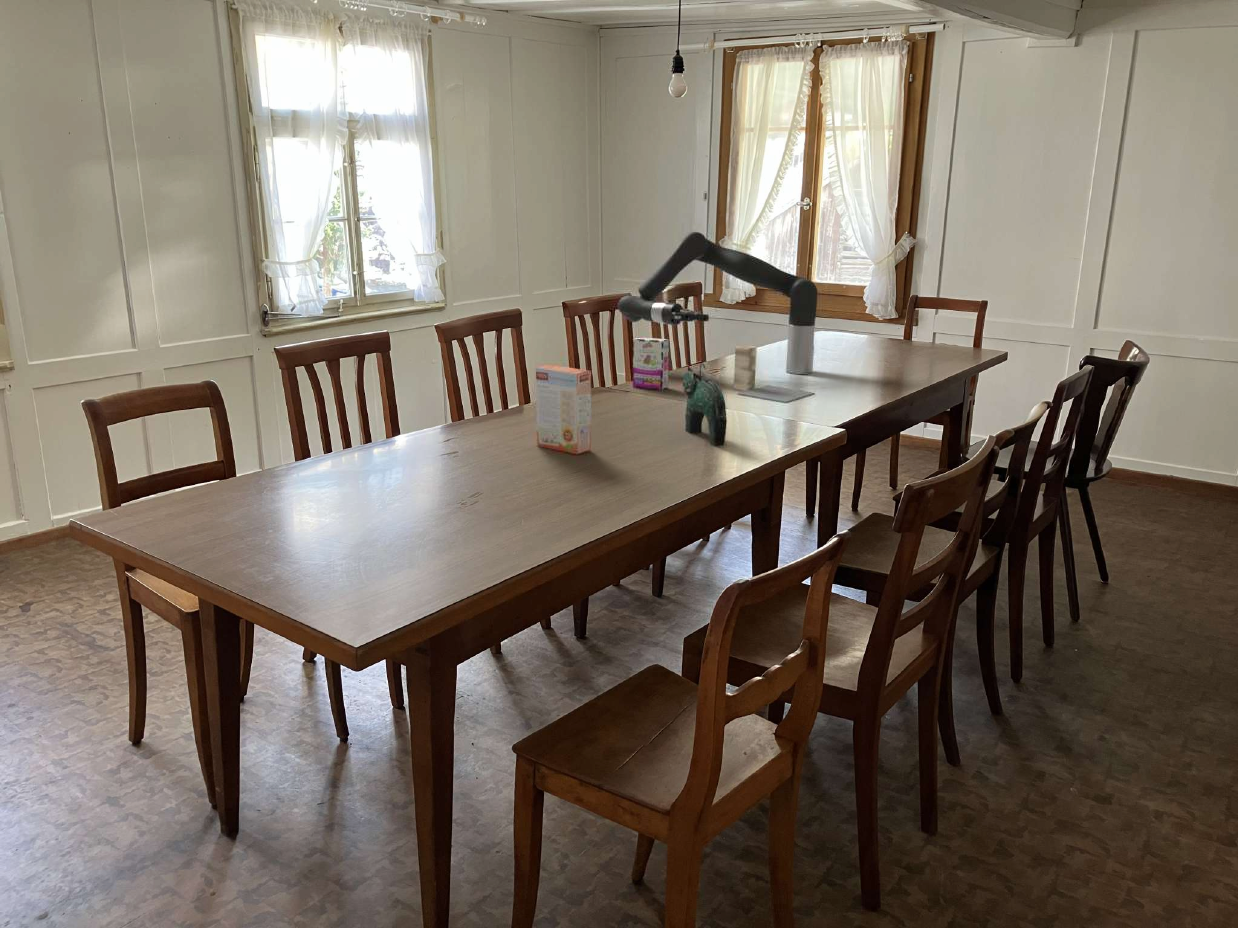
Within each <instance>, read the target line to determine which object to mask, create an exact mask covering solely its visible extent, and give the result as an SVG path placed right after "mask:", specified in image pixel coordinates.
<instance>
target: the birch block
mask: <svg viewBox="0 0 1238 928" xmlns="http://www.w3.org/2000/svg"><path fill="white" fill-rule="evenodd" d="M757 347H758V346H753V345H751V346H750V345H747V344H746V345H745V344H743V345H739V346H735V347H734V348H735V351H734V373H733V390H736V391H737V390H738V391H742V392H744V391H748V390H752V389H755V388H756V370H757V369H756V368H757V351H758V350H757V349H758V348H757Z"/></svg>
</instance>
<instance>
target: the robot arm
mask: <svg viewBox="0 0 1238 928" xmlns="http://www.w3.org/2000/svg"><path fill="white" fill-rule="evenodd" d="M693 261H697V262H700V263H704V264H708V265H710V266H713V267H715V268H718V269H719V270H721V271H722V272H724V273H726V274H728V275H730V276H732V277H734V278H736V279H738V280H740V281H742V282H745V283H747V284H750V285H753V286H756V287H759V288H763V289H769V290H772V291H775V292H777V293H779V294H781V295H784V296H785V297H787V298H789V299H790V303H789V317H788V327H787V328H788V332H787V348H786V364H785V372H786V373H789V374H796V375H806V374H807V375H808V374H812V372H813V370H814V369H813V368H814V354H815V344H814V342H815V327H816V326H815V325H816V318H817V317H816V316H817V306H818V287H817V286H816V284H815V283H814V282H813V281H812V280H811V279H809V278H806V277H801V276H798V275H794V274H791V273H788V272H786V271H783V270H781V269H779V268H777V267H776V266H774V265H773V264H770V263H769V262H767V261H765V260H763V259H761V258H758V257H756V256H753V255H751V254H749V253H745V252H743V251H740V250H736V249H732V248H727V247H723V246H721V245H719V244H717V243H714V242H713V241H711V240H710V239H707V238H706V236H705V235H704V234H702V233H701V232H698V231H691V232H688V233H687V234H685V235H684V237H683V239H682V241H681V242H680V244H679V245H678V247H677V248H676V249H675V251H674V252H673V253H672V254H671V255H670V256H669V257H668V259H667V260H666V261H664V263H662V264H661V265H660V266H659V268H657V269H656V270H655V271H654V272H653V273H652V274H650V276H649V277H648V278H647V279H645V281H644V282H642V284H640V286H639V287H638V293H639V295H640V296H639V297H638V296H635V295H625V296H623V297H621V298H620V299H619V301H618V303H617V310H618V311H619V312H620V314H621V315H623V317H625V318H626V320H628V321H629V322H631V323H636V322H639V321H640V320H644V321H647V322H654V323H658V324H661V325H662V324H663V325H670V326H678V325H680V324H681V322H682V323H683V322H709V319H710V316H709V314H705V313H703V312H702V311H700V310H698V309H695V310H692V309H689V308H683V306H682V305H681V303H677V302H668V301H655V300H656V299H657V298H658V297H659V296H660V295H661V294H662V292H664V291H665V290H666V289H667V287H668V286H669V285H670V284H671V283H672V282H673V280H674V279H675V278H676V277H677V276H678V275H679V274H680V273H681V272H682V271H683V270H684V269H685V268H686V267H687V266H688V265H689V264H691V263H693Z"/></svg>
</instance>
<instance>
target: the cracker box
mask: <svg viewBox="0 0 1238 928" xmlns="http://www.w3.org/2000/svg"><path fill="white" fill-rule="evenodd" d="M535 378H536V379H535V380H536V381H535V384H536V385H535V387H536V389H535V391H536V393H535V394H536V398H535V399H536V400H535V401H536V445H537V446H538V447H540V448H541V447H543V448H547V449H550V450H555V451H559V452H564V453H567V454H572V455H580V454H583V453H586V452H590V451H591V450H592V371H591V370H585V369H580V368H574V367H568V366H567V367H566V366H559V365H555V364H546V365H542V366H537V367H536V368H535Z"/></svg>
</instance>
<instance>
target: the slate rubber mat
mask: <svg viewBox="0 0 1238 928" xmlns="http://www.w3.org/2000/svg"><path fill="white" fill-rule="evenodd" d="M812 395H816V392H814V391H813V392H812V391H807V390H800V389H793V388H788V387H783V386H778V385H777V386H776V385H769V384H767V385H764V386H759V387H755V389H752V390H748V391H741V392H738V393H737V396H745V397H749V398H756V399H761V400H767V401H771V402H777V403H778V402H779V403H783V404H787V403H790V402H793V401H796V400H799V399H803V398H805V397H809V396H812Z"/></svg>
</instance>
